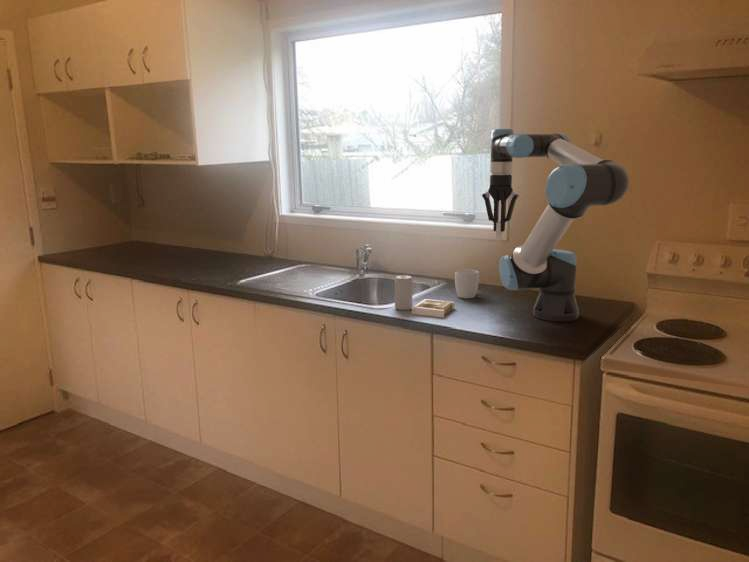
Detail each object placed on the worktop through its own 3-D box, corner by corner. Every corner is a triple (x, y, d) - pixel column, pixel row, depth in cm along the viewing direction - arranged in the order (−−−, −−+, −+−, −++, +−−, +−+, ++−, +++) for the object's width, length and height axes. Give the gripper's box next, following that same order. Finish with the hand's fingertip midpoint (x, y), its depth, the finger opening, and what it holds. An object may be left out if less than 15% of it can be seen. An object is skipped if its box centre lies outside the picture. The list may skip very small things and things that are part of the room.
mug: (470, 300, 236) (471, 275, 234) (450, 297, 242) (450, 272, 239) (486, 294, 246) (487, 269, 244) (467, 291, 251) (467, 266, 249)
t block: (451, 309, 224) (451, 301, 223) (443, 316, 216) (443, 307, 215) (428, 307, 228) (428, 299, 227) (419, 313, 220) (419, 305, 219)
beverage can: (411, 306, 229) (411, 274, 226) (413, 311, 223) (413, 278, 220) (394, 306, 229) (394, 275, 226) (395, 311, 223) (395, 278, 220)
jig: (454, 308, 225) (454, 302, 225) (443, 317, 214) (443, 310, 214) (424, 305, 230) (425, 299, 229) (412, 314, 219) (412, 307, 218)
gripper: (521, 173, 218) (519, 239, 223) (485, 173, 224) (484, 238, 229) (517, 174, 212) (514, 243, 217) (479, 174, 217) (478, 241, 222)
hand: (498, 240), depth 223 cm, fingers closed
